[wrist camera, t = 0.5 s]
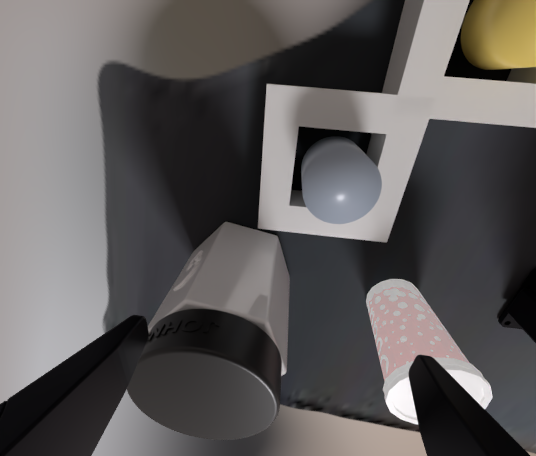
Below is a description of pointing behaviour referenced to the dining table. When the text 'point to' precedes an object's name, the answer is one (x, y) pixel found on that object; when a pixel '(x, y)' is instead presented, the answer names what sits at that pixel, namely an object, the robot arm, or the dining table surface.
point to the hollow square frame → (453, 88)
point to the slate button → (339, 181)
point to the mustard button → (500, 34)
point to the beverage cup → (415, 345)
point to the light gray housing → (338, 118)
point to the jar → (219, 340)
